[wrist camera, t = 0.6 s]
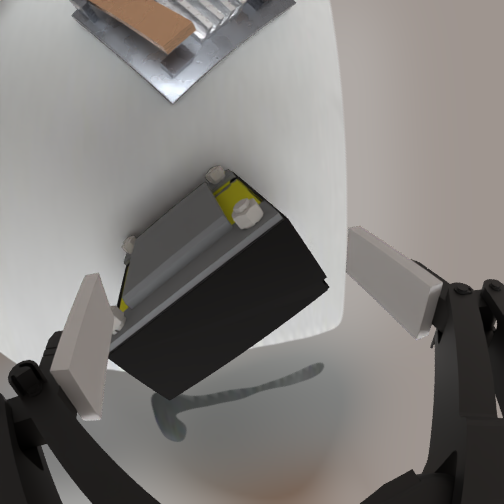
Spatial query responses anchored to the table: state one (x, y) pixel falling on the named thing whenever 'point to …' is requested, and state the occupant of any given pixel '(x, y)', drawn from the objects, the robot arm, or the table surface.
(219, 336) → the electrical component
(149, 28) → the lever
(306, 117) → the table surface
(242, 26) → the heatsink base
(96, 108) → the table surface
